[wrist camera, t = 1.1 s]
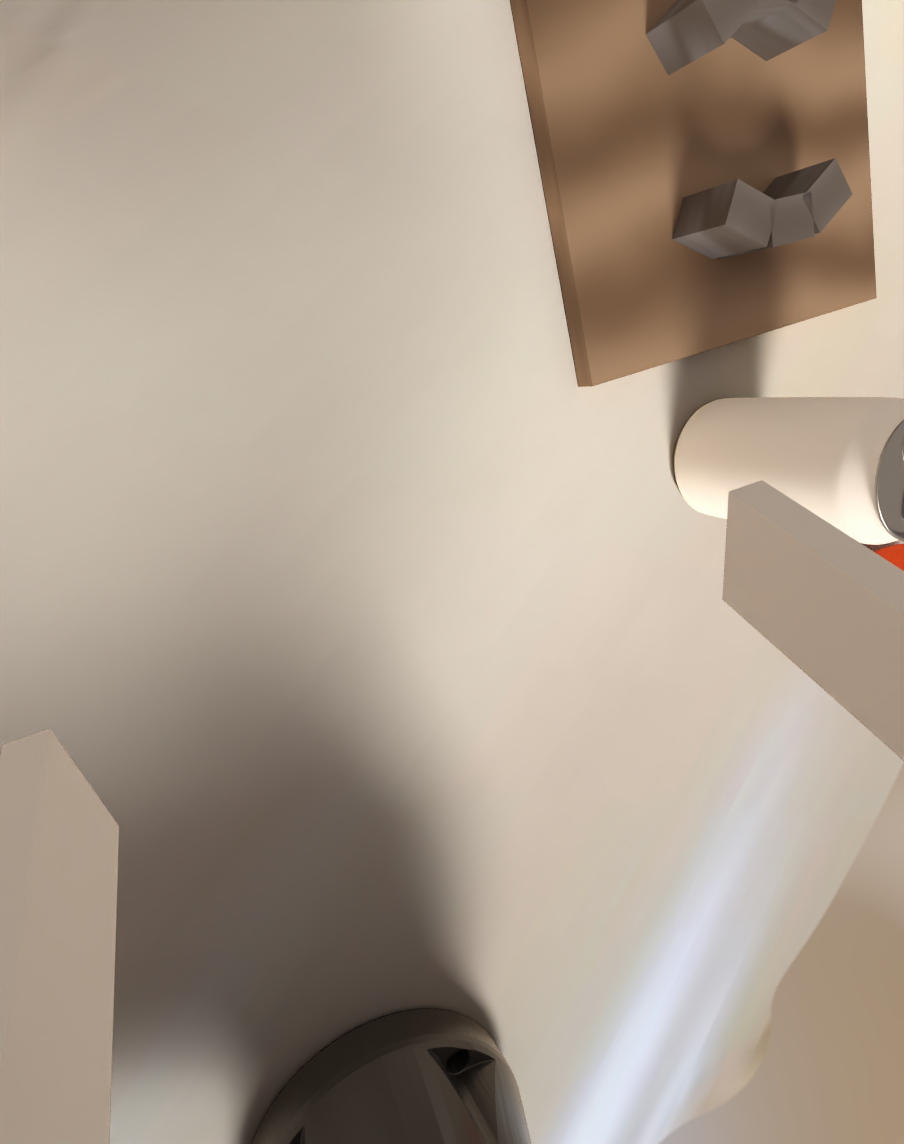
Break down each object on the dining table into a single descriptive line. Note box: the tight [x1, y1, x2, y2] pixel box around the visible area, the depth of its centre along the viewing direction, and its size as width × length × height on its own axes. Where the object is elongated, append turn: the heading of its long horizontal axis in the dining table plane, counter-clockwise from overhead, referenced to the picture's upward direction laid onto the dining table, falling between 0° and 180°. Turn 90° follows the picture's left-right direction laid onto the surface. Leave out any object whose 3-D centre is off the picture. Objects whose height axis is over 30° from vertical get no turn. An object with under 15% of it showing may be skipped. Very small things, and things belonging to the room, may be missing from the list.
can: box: [674, 397, 904, 545], centre depth 37 cm, size 6×6×12 cm
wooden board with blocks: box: [510, 0, 876, 387], centre depth 36 cm, size 20×20×5 cm
